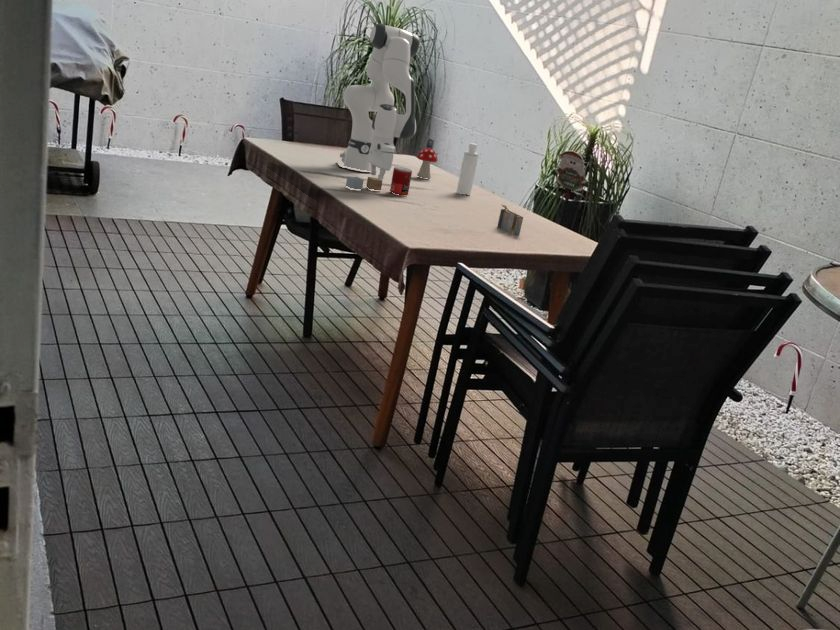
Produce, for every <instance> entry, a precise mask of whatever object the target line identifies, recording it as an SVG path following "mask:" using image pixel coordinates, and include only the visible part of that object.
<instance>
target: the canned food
mask: <svg viewBox="0 0 840 630" xmlns="http://www.w3.org/2000/svg"><path fill="white" fill-rule="evenodd" d="M412 176H413V170H412V169H411V168H407V167H404V166H394V167H393V171H392V176H391V177H392V178H391V182H390V189H389V191H391V192H393V193H395V194H399V195H407V196H408V195H409V191H410V185H411V180H412ZM391 192H390V193H391ZM395 194H394V195H395ZM399 195H398V196H399Z"/></svg>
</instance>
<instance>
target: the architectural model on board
mask: <svg viewBox="0 0 840 630" xmlns="http://www.w3.org/2000/svg"><path fill="white" fill-rule="evenodd" d="M501 207H503V208H500V213H499V218H498V222H497V228H500V229H501V230H503V231H505V232H507V233H510V234H511V235H513V236H520V234H521V233H520V232H521V229H522V225H523V220H524V216H522V215H520V214H518V213H515V212H513V211H511V210H510V209H509V208H508V207H507V205H505V204H501Z"/></svg>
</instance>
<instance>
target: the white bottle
mask: <svg viewBox="0 0 840 630" xmlns="http://www.w3.org/2000/svg"><path fill="white" fill-rule="evenodd" d="M468 145H469V146H468V150H466V151H465V152H463V158H462V163H461V166H460V167H461V168H460V173H459V178H458V182H457V188H456V192H457V193H456V194H458V193H461V194H467V195H470V194H471V193H472V190H473V189H472V188H473V184H474V180H475V175H476V170H477V165H478V160H479V154H478V152H476V150H477V147H478V144H477V143H472V142H469V144H468ZM461 194H460V195H461ZM470 196H471V195H470Z"/></svg>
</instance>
